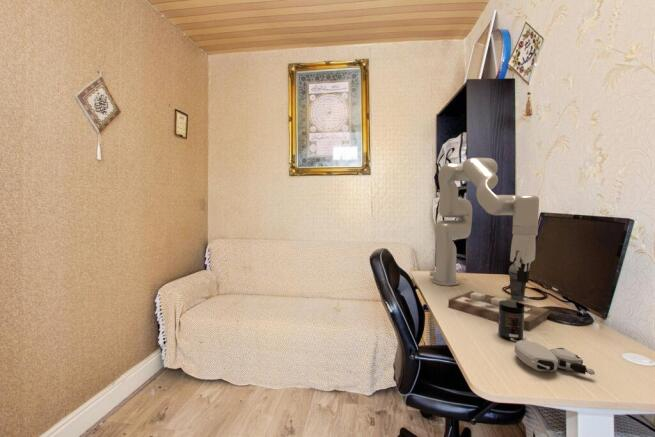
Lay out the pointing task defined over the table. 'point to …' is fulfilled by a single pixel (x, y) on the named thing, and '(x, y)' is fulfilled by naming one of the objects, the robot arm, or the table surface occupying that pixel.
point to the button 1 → (477, 296)
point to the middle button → (496, 300)
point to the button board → (496, 309)
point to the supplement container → (511, 320)
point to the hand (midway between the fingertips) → (522, 281)
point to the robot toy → (549, 358)
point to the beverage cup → (516, 285)
